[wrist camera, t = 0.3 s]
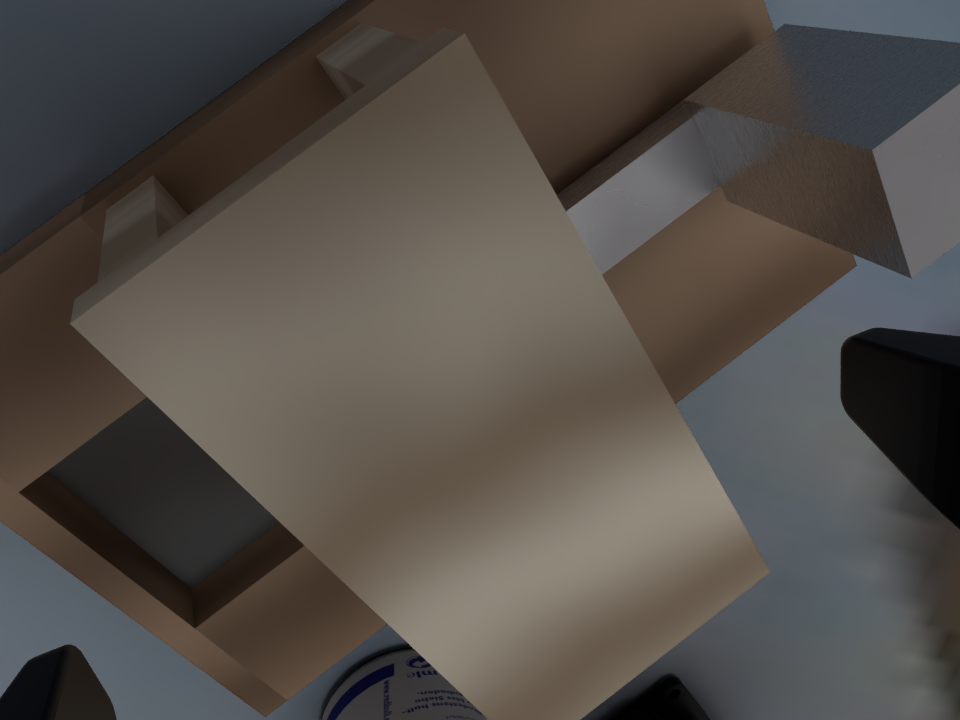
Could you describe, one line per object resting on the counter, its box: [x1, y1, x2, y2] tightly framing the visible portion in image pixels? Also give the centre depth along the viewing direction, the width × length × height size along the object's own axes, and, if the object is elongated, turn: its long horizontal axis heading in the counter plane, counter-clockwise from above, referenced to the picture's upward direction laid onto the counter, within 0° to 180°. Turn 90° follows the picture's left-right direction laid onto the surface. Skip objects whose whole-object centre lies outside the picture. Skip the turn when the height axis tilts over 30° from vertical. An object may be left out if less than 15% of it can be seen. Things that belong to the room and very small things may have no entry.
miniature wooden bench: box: [70, 23, 770, 720], centre depth 19 cm, size 14×7×6 cm, turn 32°
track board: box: [0, 0, 857, 717], centre depth 22 cm, size 14×22×2 cm, turn 122°
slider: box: [557, 24, 960, 279], centre depth 18 cm, size 6×15×7 cm, turn 121°
